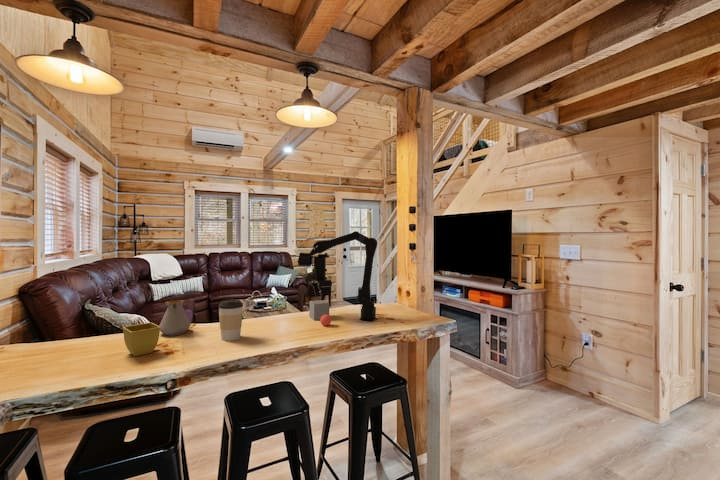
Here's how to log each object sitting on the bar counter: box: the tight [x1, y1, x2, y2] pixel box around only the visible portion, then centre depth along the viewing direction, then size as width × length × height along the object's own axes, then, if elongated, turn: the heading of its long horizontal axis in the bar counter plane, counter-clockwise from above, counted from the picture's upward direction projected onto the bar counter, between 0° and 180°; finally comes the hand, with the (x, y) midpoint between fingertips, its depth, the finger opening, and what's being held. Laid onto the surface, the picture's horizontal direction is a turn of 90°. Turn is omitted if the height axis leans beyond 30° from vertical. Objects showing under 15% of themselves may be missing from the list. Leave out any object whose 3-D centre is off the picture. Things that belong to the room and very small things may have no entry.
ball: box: [319, 314, 332, 327], centre depth 148 cm, size 5×5×5 cm
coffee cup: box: [218, 298, 244, 342], centre depth 129 cm, size 9×9×15 cm
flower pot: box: [122, 322, 161, 357], centre depth 112 cm, size 9×9×9 cm
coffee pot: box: [158, 299, 192, 337], centre depth 130 cm, size 21×12×15 cm, turn 29°
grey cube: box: [308, 299, 330, 321], centre depth 161 cm, size 8×8×8 cm
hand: (319, 298), depth 161 cm, fingers open, 9 cm apart
